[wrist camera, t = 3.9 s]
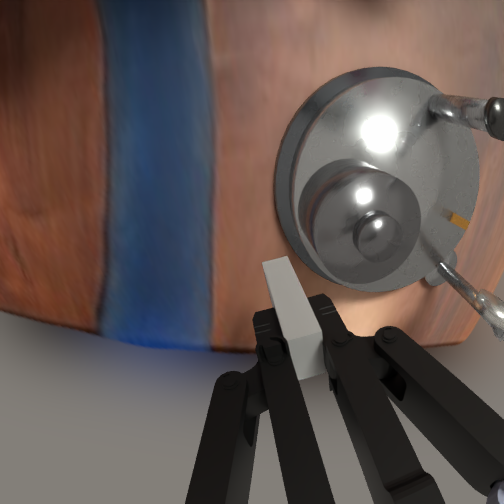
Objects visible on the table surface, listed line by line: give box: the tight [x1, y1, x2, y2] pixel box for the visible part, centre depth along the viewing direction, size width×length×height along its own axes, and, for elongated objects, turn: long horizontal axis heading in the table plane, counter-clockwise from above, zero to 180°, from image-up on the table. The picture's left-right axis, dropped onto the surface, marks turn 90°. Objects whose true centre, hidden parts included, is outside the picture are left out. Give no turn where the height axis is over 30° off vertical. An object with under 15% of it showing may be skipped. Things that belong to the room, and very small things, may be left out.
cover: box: [298, 159, 421, 284], centre depth 21 cm, size 8×8×6 cm
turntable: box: [289, 77, 504, 292], centre depth 21 cm, size 20×20×10 cm
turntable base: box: [274, 67, 438, 285], centre depth 26 cm, size 22×22×1 cm
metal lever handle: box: [423, 251, 504, 341], centre depth 25 cm, size 10×5×15 cm, turn 72°
